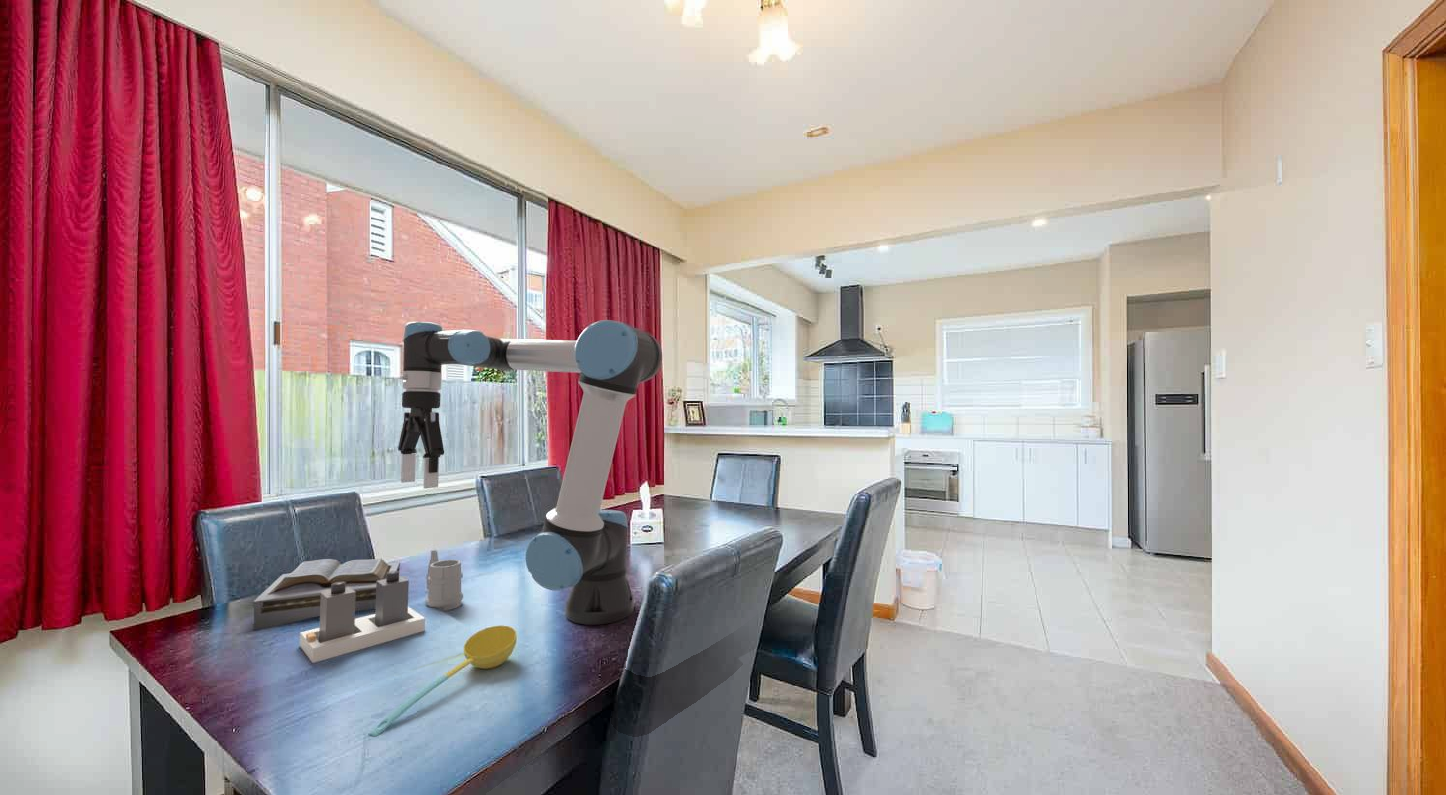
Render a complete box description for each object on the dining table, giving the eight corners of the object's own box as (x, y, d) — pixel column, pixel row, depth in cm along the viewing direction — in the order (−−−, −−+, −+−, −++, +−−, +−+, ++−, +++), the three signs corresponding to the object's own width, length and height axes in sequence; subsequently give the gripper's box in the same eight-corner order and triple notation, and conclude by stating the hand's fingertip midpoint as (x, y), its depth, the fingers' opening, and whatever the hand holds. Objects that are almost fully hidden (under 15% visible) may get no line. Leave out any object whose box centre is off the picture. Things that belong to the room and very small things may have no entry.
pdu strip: (424, 635, 103) (425, 614, 103) (312, 668, 89) (313, 643, 90) (406, 622, 110) (407, 602, 110) (299, 651, 96) (300, 628, 96)
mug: (435, 615, 114) (437, 560, 114) (411, 603, 121) (412, 551, 121) (469, 604, 120) (470, 553, 120) (444, 594, 127) (445, 545, 127)
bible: (292, 594, 126) (293, 554, 127) (415, 585, 134) (416, 547, 134) (230, 634, 104) (232, 585, 104) (382, 620, 111) (383, 574, 112)
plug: (407, 630, 103) (408, 572, 104) (382, 637, 100) (383, 577, 100) (399, 624, 106) (401, 568, 106) (374, 631, 103) (376, 572, 103)
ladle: (529, 651, 95) (526, 624, 94) (399, 776, 71) (393, 740, 70) (492, 642, 98) (488, 615, 97) (355, 758, 74) (348, 724, 73)
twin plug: (353, 645, 96) (355, 583, 97) (324, 653, 93) (327, 589, 93) (347, 638, 99) (349, 578, 100) (318, 646, 96) (321, 583, 96)
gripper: (384, 391, 121) (381, 481, 120) (425, 388, 105) (421, 492, 104) (419, 392, 127) (416, 478, 126) (462, 390, 111) (460, 488, 110)
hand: (418, 484), depth 115 cm, fingers open, 13 cm apart
